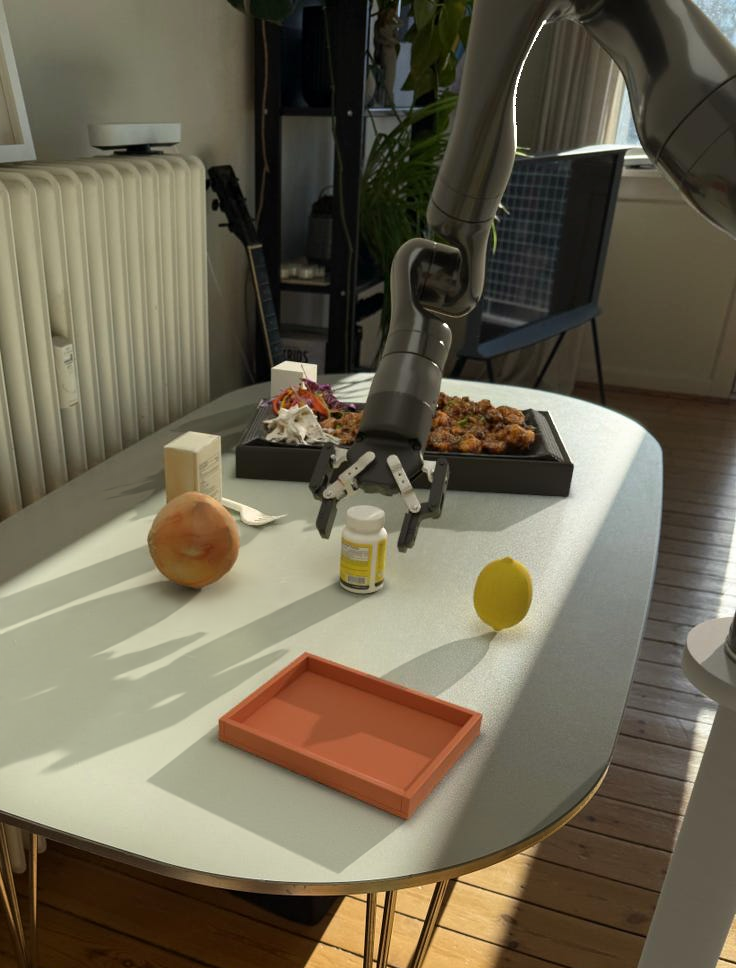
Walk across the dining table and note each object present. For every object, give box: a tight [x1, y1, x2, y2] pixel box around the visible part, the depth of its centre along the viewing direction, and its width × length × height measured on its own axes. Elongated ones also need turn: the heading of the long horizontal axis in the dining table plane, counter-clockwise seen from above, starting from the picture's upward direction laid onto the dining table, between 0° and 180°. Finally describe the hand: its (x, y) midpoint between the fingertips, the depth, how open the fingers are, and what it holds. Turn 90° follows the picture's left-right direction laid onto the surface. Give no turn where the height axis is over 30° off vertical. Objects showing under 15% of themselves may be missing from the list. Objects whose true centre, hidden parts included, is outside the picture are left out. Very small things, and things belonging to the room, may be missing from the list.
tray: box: [217, 651, 483, 821], centre depth 76 cm, size 17×13×2 cm
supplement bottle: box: [339, 504, 388, 594], centre depth 99 cm, size 5×5×8 cm
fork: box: [222, 496, 288, 526], centre depth 119 cm, size 3×20×2 cm, turn 44°
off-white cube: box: [270, 360, 318, 398], centre depth 161 cm, size 6×6×6 cm
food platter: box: [234, 364, 575, 497], centre depth 135 cm, size 45×25×10 cm, turn 82°
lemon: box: [472, 555, 534, 632], centre depth 90 cm, size 6×6×8 cm
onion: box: [146, 491, 241, 589], centre depth 99 cm, size 10×10×10 cm
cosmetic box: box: [163, 430, 223, 506], centre depth 108 cm, size 6×4×12 cm
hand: (361, 543), depth 98 cm, fingers open, 8 cm apart
